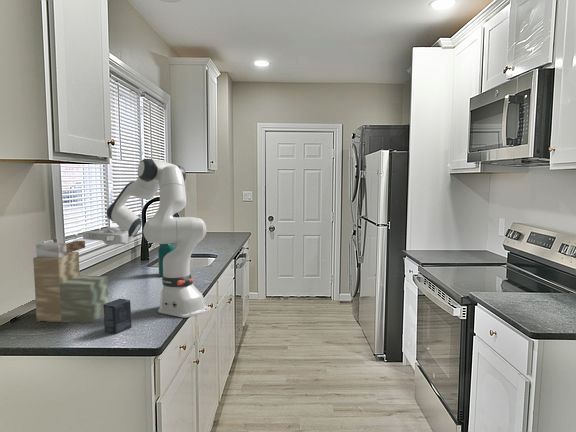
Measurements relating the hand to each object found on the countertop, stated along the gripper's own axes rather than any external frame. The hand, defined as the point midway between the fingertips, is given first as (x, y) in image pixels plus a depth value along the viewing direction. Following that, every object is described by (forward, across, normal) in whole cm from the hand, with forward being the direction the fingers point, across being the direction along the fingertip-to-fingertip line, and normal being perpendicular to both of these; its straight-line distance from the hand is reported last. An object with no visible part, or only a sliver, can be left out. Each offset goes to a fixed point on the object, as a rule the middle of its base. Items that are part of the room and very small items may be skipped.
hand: (96, 237), depth 198 cm
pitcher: (-47, +17, +23) cm, 55 cm away
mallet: (+22, 0, +5) cm, 23 cm away
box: (+38, +33, +30) cm, 59 cm away
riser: (+25, +7, +30) cm, 40 cm away
